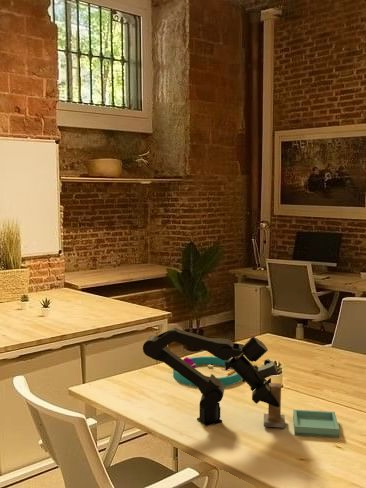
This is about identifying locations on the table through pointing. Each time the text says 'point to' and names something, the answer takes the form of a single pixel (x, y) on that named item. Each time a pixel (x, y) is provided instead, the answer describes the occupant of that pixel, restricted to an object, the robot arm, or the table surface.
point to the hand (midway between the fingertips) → (278, 403)
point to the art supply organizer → (209, 360)
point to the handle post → (275, 409)
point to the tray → (315, 423)
